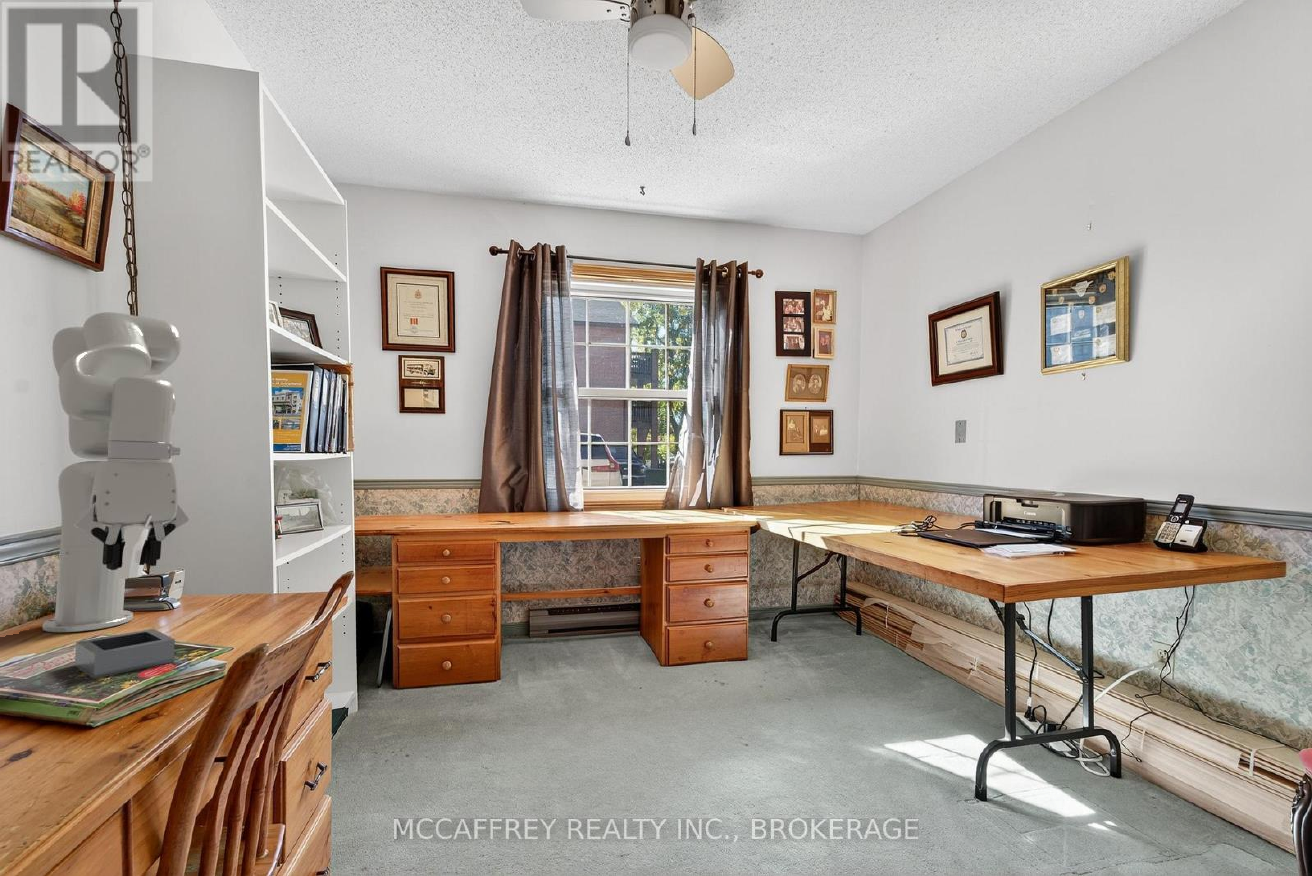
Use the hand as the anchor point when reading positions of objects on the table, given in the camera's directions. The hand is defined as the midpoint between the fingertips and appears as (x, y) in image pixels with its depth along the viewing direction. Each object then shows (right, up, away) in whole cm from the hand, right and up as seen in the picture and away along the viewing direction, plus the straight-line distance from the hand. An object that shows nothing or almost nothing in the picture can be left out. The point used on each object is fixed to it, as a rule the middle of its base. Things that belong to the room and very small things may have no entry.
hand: (131, 565), depth 94 cm
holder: (-1, -16, -1) cm, 15 cm away
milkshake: (0, -2, 0) cm, 2 cm away
